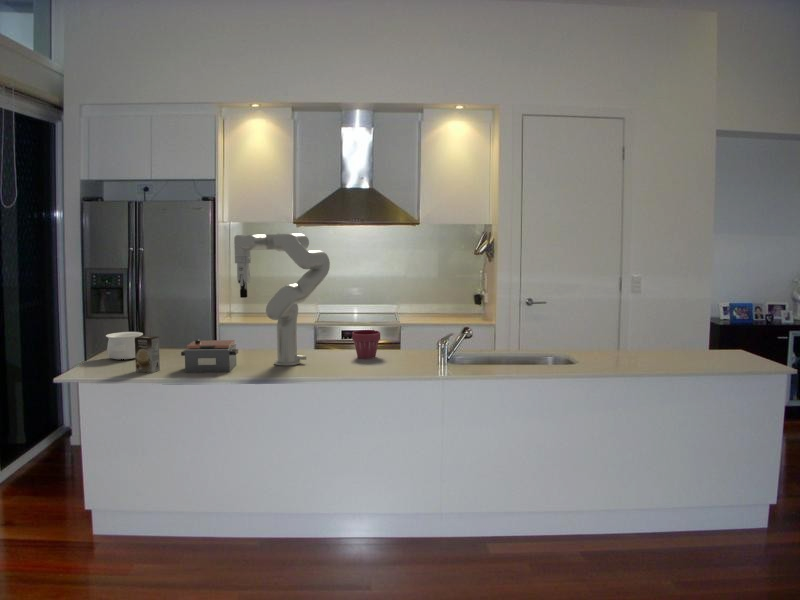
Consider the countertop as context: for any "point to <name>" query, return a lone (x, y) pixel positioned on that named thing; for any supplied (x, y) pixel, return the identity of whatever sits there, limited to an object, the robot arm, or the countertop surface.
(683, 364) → the countertop surface
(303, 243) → the robot arm
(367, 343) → the plant pot
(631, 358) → the countertop surface
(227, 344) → the lid
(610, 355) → the countertop surface
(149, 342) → the coffee box
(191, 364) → the cooker base
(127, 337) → the pot
